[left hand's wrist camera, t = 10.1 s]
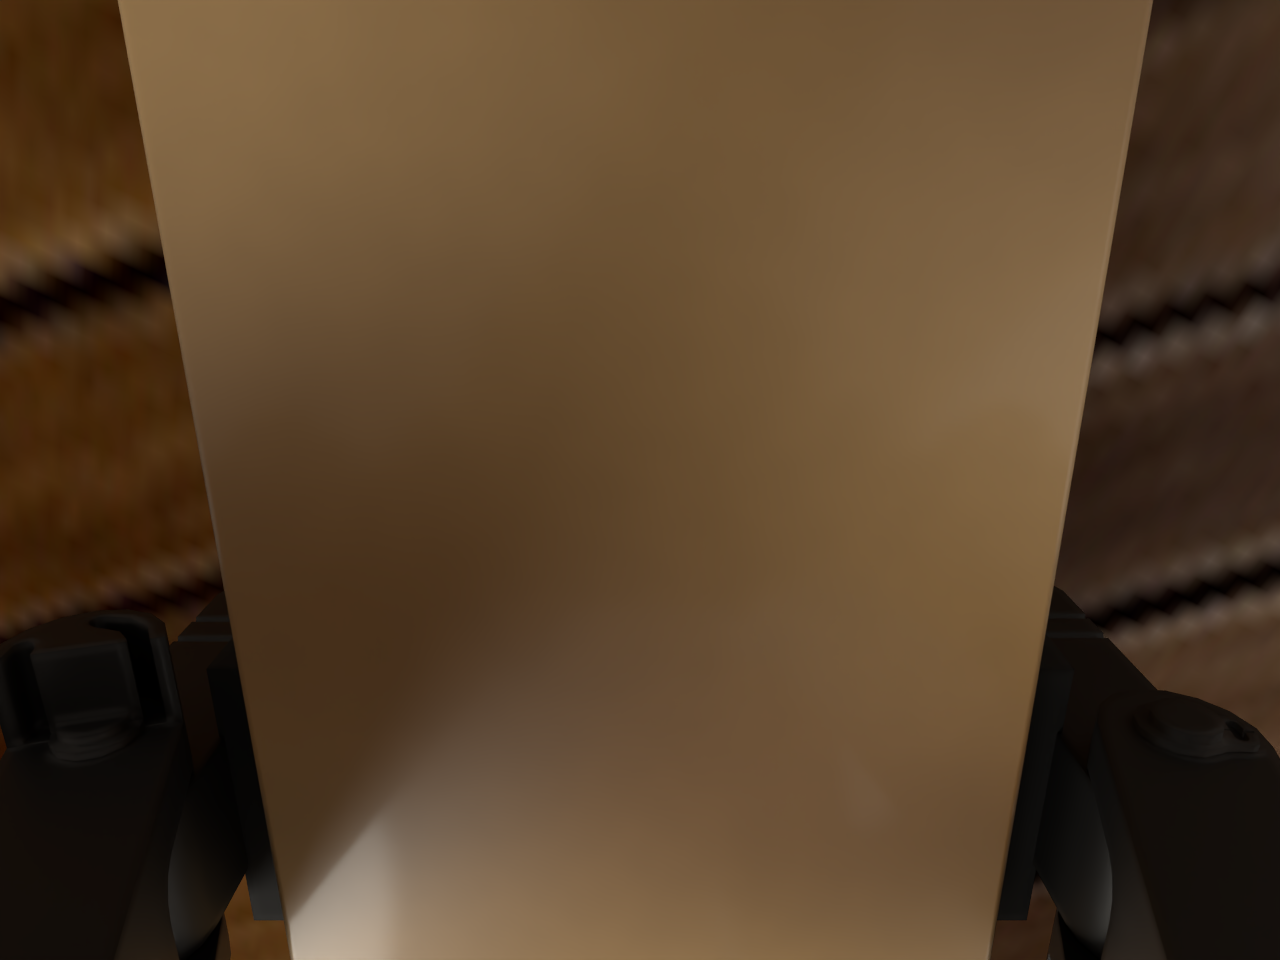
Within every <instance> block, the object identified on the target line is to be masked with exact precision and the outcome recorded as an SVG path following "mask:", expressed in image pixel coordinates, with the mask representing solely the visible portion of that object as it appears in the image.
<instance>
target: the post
mask: <svg viewBox="0 0 1280 960" xmlns="http://www.w3.org/2000/svg"><path fill="white" fill-rule="evenodd" d="M118 4H119V9H120V15H121V20H122V26H123V31H124V37H125V42H126V48H127V53H128V59H129V65H130V70H131V76H132V81H133V87H134V92H135V98H136V103H137V109H138V114H139V120H140V126H141V131H142V137H143V142H144V148H145V153H146V159H147V164H148V170H149V175H150V181H151V187H152V192H153V198H154V203H155V209H156V214H157V220H158V225H159V231H160V236H161V242H162V247H163V253H164V259H165V264H166V270H167V275H168V281H169V286H170V292H171V297H172V303H173V308H174V314H175V320H176V325H177V331H178V336H179V342H180V347H181V353H182V358H183V364H184V369H185V375H186V381H187V386H188V392H189V397H190V403H191V408H192V414H193V419H194V425H195V430H196V436H197V441H198V447H199V453H200V458H201V464H202V469H203V475H204V480H205V486H206V491H207V497H208V502H209V508H210V514H211V519H212V525H213V530H214V536H215V541H216V547H217V552H218V558H219V563H220V569H221V575H222V580H223V586H224V591H225V597H226V602H227V608H228V613H229V619H230V624H231V630H232V636H233V641H234V647H235V652H236V658H237V663H238V669H239V674H240V680H241V685H242V691H243V696H244V702H245V708H246V713H247V719H248V724H249V730H250V735H251V741H252V746H253V752H254V757H255V763H256V769H257V774H258V780H259V785H260V791H261V796H262V802H263V807H264V813H265V818H266V824H267V830H268V835H269V841H270V846H271V852H272V857H273V863H274V868H275V874H276V879H277V885H278V890H279V896H280V902H281V907H282V913H283V918H284V924H285V929H286V935H287V940H288V946H289V951H290V957H291V960H990V957H991V952H992V946H993V940H994V934H995V928H996V922H997V916H998V910H999V905H1000V899H1001V893H1002V887H1003V881H1004V875H1005V869H1006V863H1007V857H1008V852H1009V846H1010V840H1011V834H1012V828H1013V822H1014V816H1015V810H1016V804H1017V799H1018V793H1019V787H1020V781H1021V775H1022V769H1023V763H1024V757H1025V751H1026V746H1027V740H1028V734H1029V728H1030V722H1031V716H1032V710H1033V704H1034V698H1035V693H1036V687H1037V681H1038V675H1039V669H1040V663H1041V657H1042V651H1043V645H1044V640H1045V634H1046V628H1047V622H1048V616H1049V610H1050V604H1051V598H1052V592H1053V587H1054V581H1055V575H1056V569H1057V563H1058V557H1059V551H1060V545H1061V540H1062V534H1063V528H1064V522H1065V516H1066V510H1067V504H1068V498H1069V492H1070V487H1071V481H1072V475H1073V469H1074V463H1075V457H1076V451H1077V445H1078V439H1079V434H1080V428H1081V422H1082V416H1083V410H1084V404H1085V398H1086V392H1087V386H1088V381H1089V375H1090V369H1091V363H1092V357H1093V351H1094V345H1095V339H1096V333H1097V328H1098V322H1099V316H1100V310H1101V304H1102V298H1103V292H1104V286H1105V280H1106V275H1107V269H1108V263H1109V257H1110V251H1111V245H1112V239H1113V233H1114V228H1115V222H1116V216H1117V210H1118V204H1119V198H1120V192H1121V186H1122V180H1123V175H1124V169H1125V163H1126V157H1127V151H1128V145H1129V139H1130V133H1131V127H1132V122H1133V116H1134V110H1135V104H1136V98H1137V92H1138V86H1139V80H1140V74H1141V69H1142V63H1143V57H1144V51H1145V45H1146V39H1147V33H1148V27H1149V21H1150V16H1151V10H1152V4H1153V0H118Z"/></svg>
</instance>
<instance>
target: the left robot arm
mask: <svg viewBox="0 0 1280 960" xmlns="http://www.w3.org/2000/svg"><path fill="white" fill-rule="evenodd" d="M0 725H1V729H2V732H3V736H4V739H5V743H6V746H7V749H6V751H5V753H4V755H3V756H2V758H1V760H0V960H230V956H231V950H230V943H229V935H228V930H227V925H226V920H225V915H224V911H225V909H226V908H227V906H228V904H229V902H230V900H231V898H232V897H233V895H234V893H235V891H236V889H237V887H238V886H239V884H240V882H241V880H242V878H243V876H244V874H246V880H247V885H248V890H249V895H250V901H251V906H252V911H253V916H254V920H284V918H283V913H282V907H281V902H280V896H279V890H278V885H277V879H276V874H275V868H274V863H273V857H272V852H271V846H270V841H269V835H268V830H267V824H266V818H265V813H264V807H263V802H262V796H261V791H260V785H259V780H258V774H257V769H256V763H255V757H254V752H253V746H252V741H251V735H250V730H249V724H248V719H247V713H246V708H245V702H244V696H243V691H242V685H241V680H240V674H239V669H238V663H237V658H236V652H235V647H234V641H233V636H232V630H231V624H230V619H229V613H228V608H227V602H226V597H225V591H223V592H221V593H219V594H218V595H217V596H216V597H215V598H214V599H213V600H212V601H211V602H210V603H209V604H208V605H207V607H206V608H205V609H204V610H203V611H202V612H201V613H200V614H199V615H198V616H197V617H196V622H191V623H190V625H189V626H188V627H187V628H186V629H185V630H184V631H183V632H182V633H181V634H180V635H179V636H178V642H173V643H172V644H171V645H170V646H169V642H168V637H167V632H166V627H165V623H164V622H163V621H161V620H160V619H158V618H157V617H155V616H154V615H152V614H150V613H145V612H139V611H133V610H104V611H93V612H88V613H83V614H78V615H73V616H68V617H63V618H60V619H57V620H54V621H51V622H48V623H45V624H42V625H39V626H36V627H33V628H30V629H28V630H26V631H24V632H22V633H20V634H18V635H17V636H15V637H13V638H11V639H9V640H7V641H5V642H3V643H2V644H0ZM1036 870H1037V872H1038V874H1039V876H1040V878H1041V879H1042V881H1043V883H1044V885H1045V887H1046V889H1047V890H1048V892H1049V894H1050V896H1051V898H1052V900H1053V901H1054V903H1055V905H1056V907H1057V910H1056V915H1055V920H1054V925H1053V930H1052V935H1051V939H1050V944H1049V949H1048V954H1047V959H1046V960H1280V758H1279V756H1278V755H1277V753H1276V751H1275V749H1274V748H1273V746H1272V745H1271V744H1270V743H1269V742H1268V741H1267V740H1266V739H1265V738H1264V736H1263V735H1262V734H1261V733H1260V732H1259V731H1258V730H1257V729H1256V728H1255V727H1253V726H1252V725H1250V724H1249V723H1247V722H1246V721H1244V720H1242V719H1241V718H1239V717H1238V716H1236V715H1235V714H1233V713H1231V712H1230V711H1228V710H1225V709H1223V708H1220V707H1218V706H1215V705H1213V704H1210V703H1208V702H1205V701H1203V700H1201V699H1198V698H1194V697H1190V696H1185V695H1181V694H1177V693H1173V692H1168V691H1161V690H1157V689H1156V688H1155V687H1154V686H1153V685H1152V684H1151V683H1150V682H1149V681H1148V680H1147V679H1146V678H1145V677H1144V676H1143V674H1142V673H1141V672H1140V671H1139V670H1138V669H1137V668H1136V667H1135V666H1134V665H1133V664H1132V663H1131V662H1130V661H1129V660H1128V659H1127V658H1126V657H1125V656H1124V654H1123V653H1122V652H1121V651H1120V650H1119V649H1118V648H1117V647H1116V646H1115V645H1114V644H1113V643H1112V642H1111V641H1110V640H1109V639H1108V638H1104V637H1103V632H1102V631H1101V630H1100V629H1099V628H1098V627H1097V626H1096V625H1095V624H1094V623H1093V622H1092V621H1091V620H1090V619H1085V613H1084V612H1083V611H1082V610H1081V609H1080V608H1079V607H1078V606H1077V605H1076V604H1075V603H1074V602H1073V601H1072V600H1071V599H1070V598H1069V597H1068V596H1067V594H1066V593H1065V592H1064V591H1062V590H1060V589H1059V588H1057V587H1055V586H1054V587H1053V592H1052V598H1051V604H1050V610H1049V616H1048V622H1047V628H1046V634H1045V640H1044V645H1043V651H1042V657H1041V663H1040V669H1039V675H1038V681H1037V687H1036V693H1035V698H1034V704H1033V710H1032V716H1031V722H1030V728H1029V734H1028V740H1027V746H1026V751H1025V757H1024V763H1023V769H1022V775H1021V781H1020V787H1019V793H1018V799H1017V804H1016V810H1015V816H1014V822H1013V828H1012V834H1011V840H1010V846H1009V852H1008V857H1007V863H1006V869H1005V875H1004V881H1003V887H1002V893H1001V899H1000V905H999V910H998V916H997V920H1027V915H1028V910H1029V904H1030V899H1031V894H1032V889H1033V883H1034V878H1035V873H1036Z"/></svg>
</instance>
